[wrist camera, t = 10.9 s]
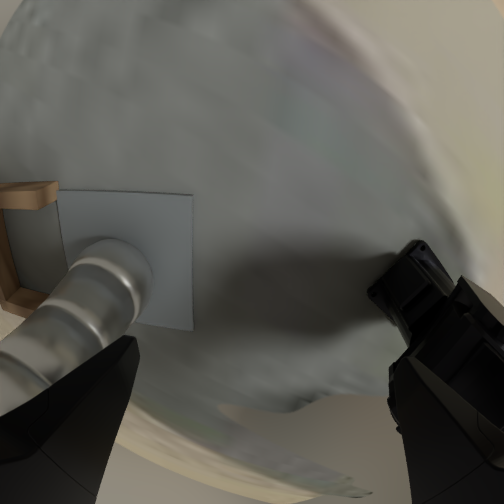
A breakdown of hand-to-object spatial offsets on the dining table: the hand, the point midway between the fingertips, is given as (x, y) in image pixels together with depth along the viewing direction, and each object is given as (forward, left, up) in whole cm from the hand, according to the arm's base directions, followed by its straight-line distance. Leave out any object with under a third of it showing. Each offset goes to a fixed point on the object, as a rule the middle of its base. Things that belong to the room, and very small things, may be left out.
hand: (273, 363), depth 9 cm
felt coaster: (+7, +10, -13) cm, 18 cm away
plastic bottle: (+6, +10, -13) cm, 18 cm away
